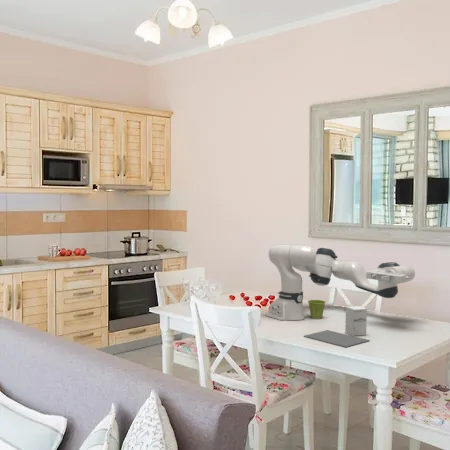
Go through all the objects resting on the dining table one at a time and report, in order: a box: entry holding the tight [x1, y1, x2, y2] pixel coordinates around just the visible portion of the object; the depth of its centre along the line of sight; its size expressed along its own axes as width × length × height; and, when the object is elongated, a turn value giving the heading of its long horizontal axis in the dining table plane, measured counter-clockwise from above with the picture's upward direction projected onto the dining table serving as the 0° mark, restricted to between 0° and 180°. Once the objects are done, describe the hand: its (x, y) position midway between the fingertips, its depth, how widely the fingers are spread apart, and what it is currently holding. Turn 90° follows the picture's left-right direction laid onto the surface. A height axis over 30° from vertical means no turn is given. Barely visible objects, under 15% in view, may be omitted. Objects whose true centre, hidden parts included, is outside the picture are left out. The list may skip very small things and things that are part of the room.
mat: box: [303, 329, 371, 349], centre depth 250 cm, size 24×17×1 cm
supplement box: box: [344, 305, 368, 337], centre depth 259 cm, size 7×7×13 cm
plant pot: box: [307, 299, 327, 319], centre depth 294 cm, size 9×9×9 cm
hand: (376, 278), depth 268 cm, fingers open, 3 cm apart
